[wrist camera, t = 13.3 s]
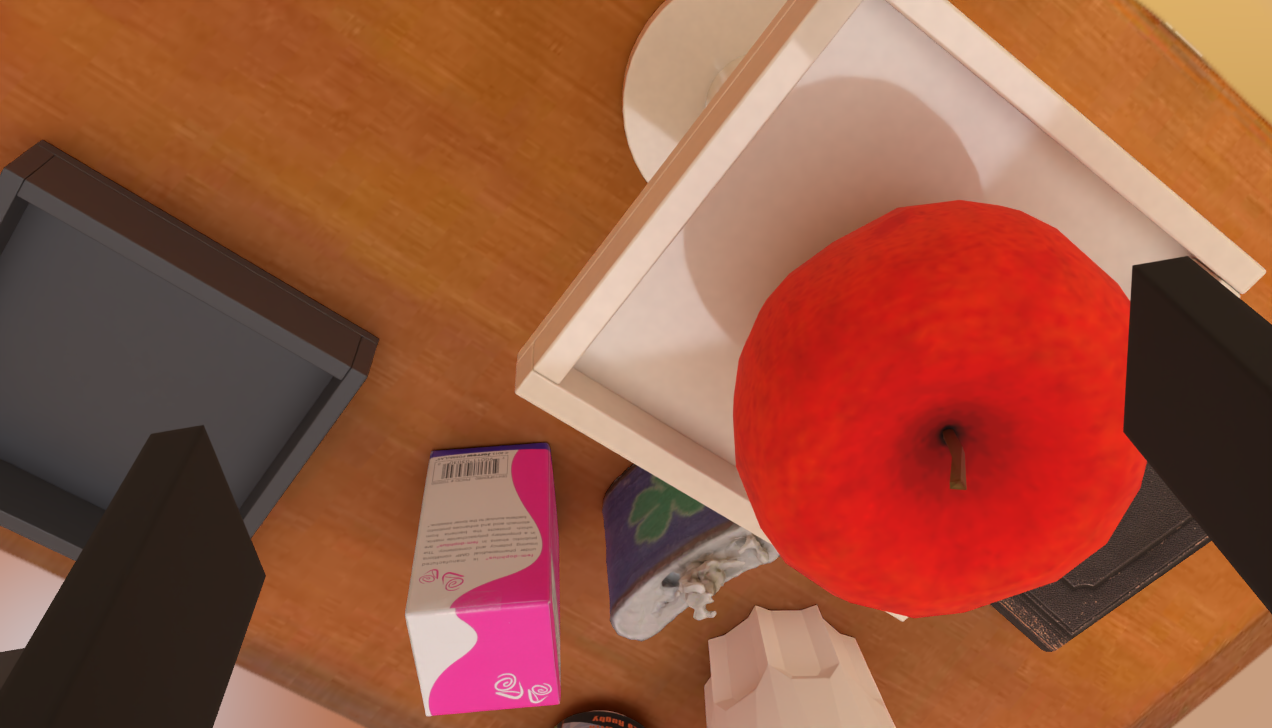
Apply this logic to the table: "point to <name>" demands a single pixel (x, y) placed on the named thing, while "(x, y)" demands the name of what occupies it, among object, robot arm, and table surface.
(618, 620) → the flask
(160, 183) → the table surface
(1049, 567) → the apple
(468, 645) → the supplement box
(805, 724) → the cup
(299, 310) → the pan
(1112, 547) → the hardcover book
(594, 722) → the beverage can
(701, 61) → the pedestal tray stand
